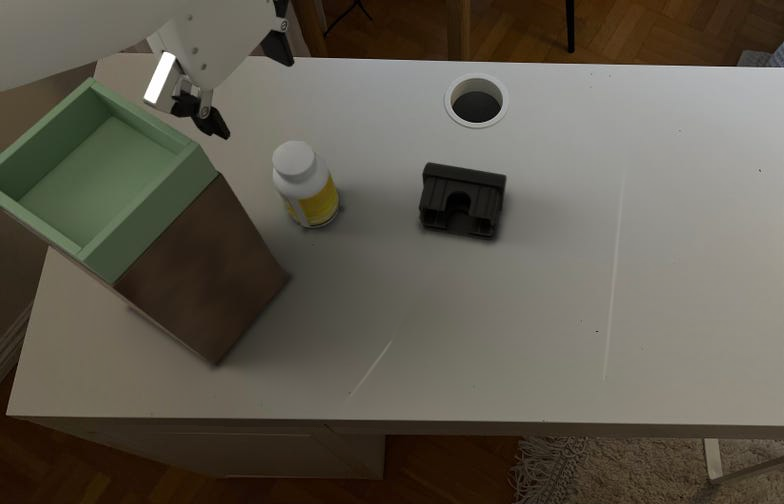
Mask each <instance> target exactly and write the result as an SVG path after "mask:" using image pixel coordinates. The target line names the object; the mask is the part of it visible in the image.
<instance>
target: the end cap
mask: <svg viewBox="0 0 784 504" xmlns="http://www.w3.org/2000/svg"><path fill="white" fill-rule="evenodd" d="M421 176H422V186H423V187H422V191H421V196H420V199H419V204H418V208H417V209H418V211H419V216H418V218H419V219H420V222H421V224H422V228H423V229H425V230H427V231H433V232H438V233H445V234H451V235H457V236H463V237H469V238H474V239H481V240H486V241H490V240H492V239H493V237H494V233H495V232H496V230H497V225H498V218H499V213H500V212H502V211H503V205H504V201H505V200H504V199H505V194H506V193H505V192H506V186H507V175H506V174H502V173H497V172H490V171H484V170H479V169H474V168H473V169H472V168H467V167H462V166H455V165H449V164H443V163H437V162H430V161H429V162H426V164H425V165H424V168H423V170H422V173H421Z"/></svg>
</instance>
